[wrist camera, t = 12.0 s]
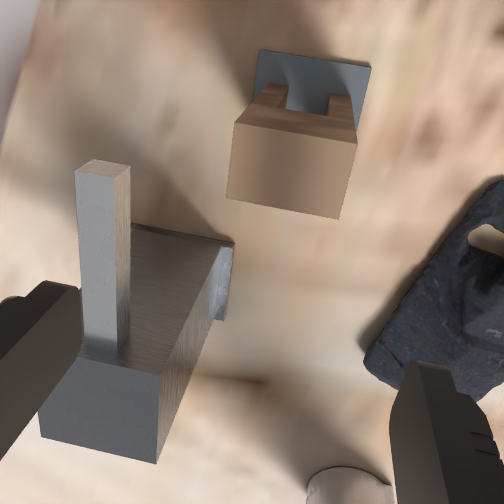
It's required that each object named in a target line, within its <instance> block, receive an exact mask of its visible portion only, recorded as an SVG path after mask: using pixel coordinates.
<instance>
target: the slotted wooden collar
mask: <svg viewBox="0 0 504 504" xmlns="http://www.w3.org/2000/svg"><path fill="white" fill-rule="evenodd" d="M288 92H289V86H287V85H281V84H276V83H270V82H269V83H268V84H267V86H266V87H265V88H264V89H263V90H262V91H261V93H260V94H259V95H258V96H257V97H256V98H255V99H254V101H253V102H252V103H251V104H250V105H249V106H248V107H247V109H246V110H245V111H244V112H243V113H242V114H241V116H240V117H239V118H238V119H237V120H236V121H235V123H234V131H233V140H232V149H231V158H230V166H229V175H228V184H227V193H226V198H228V199H233V200H238V201H244V202H249V203H254V204H259V205H264V206H270V207H275V208H280V209H285V210H291V211H296V212H301V213H306V214H312V215H317V216H322V217H327V218H333V219H338V220H339V216H340V212H341V208H342V204H343V200H344V197H345V193H346V189H347V185H348V181H349V177H350V173H351V169H352V165H353V161H354V157H355V153H356V149H357V145H358V143H357V136H356V129H355V122H354V115H353V108H352V101H351V96H346V95H340V94H335V93H330V96H329V101H328V106H327V111H326V115H325V116H323V115H318V114H312V113H306V112H300V111H295V110H289V109H286V104H287V98H288Z"/></svg>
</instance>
